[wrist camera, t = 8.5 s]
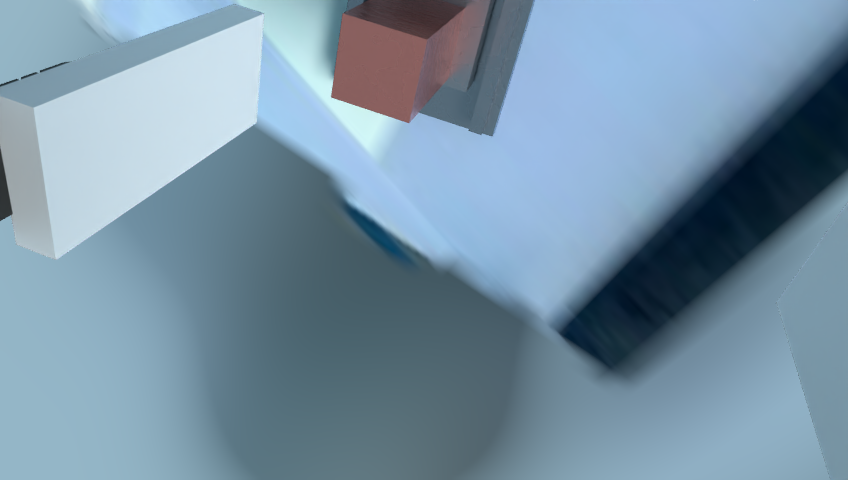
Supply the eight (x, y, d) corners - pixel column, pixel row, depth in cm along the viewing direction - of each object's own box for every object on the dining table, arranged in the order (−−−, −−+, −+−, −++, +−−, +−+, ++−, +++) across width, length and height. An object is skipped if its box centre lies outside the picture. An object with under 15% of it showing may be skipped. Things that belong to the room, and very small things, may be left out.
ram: (391, -66, 42) (323, -46, 33) (503, -33, 41) (465, -3, 32) (371, 51, 47) (307, 97, 38) (472, 84, 46) (431, 138, 37)
